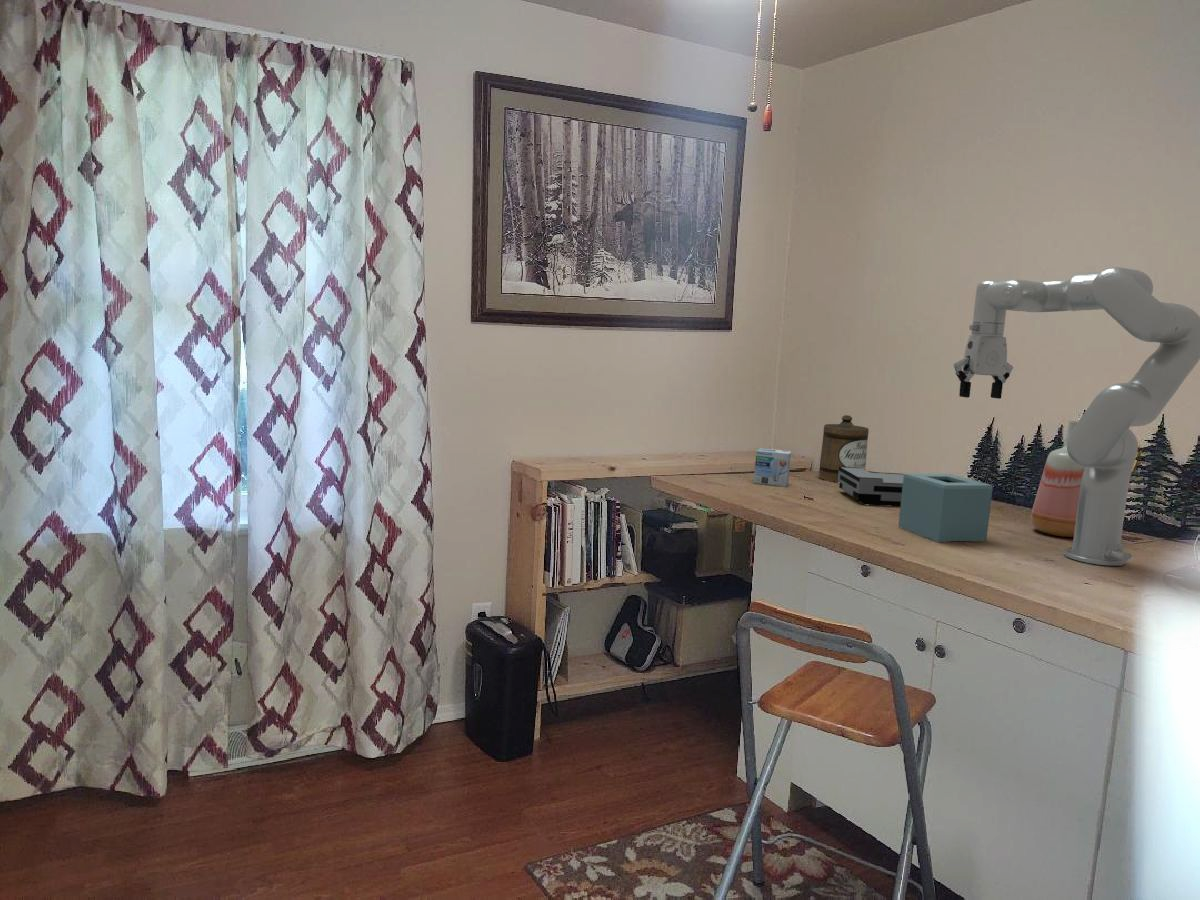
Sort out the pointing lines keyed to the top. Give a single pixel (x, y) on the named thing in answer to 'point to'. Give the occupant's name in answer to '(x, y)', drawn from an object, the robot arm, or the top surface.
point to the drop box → (945, 507)
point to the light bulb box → (772, 467)
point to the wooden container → (842, 448)
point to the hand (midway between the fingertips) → (980, 397)
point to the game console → (871, 486)
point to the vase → (1058, 493)
